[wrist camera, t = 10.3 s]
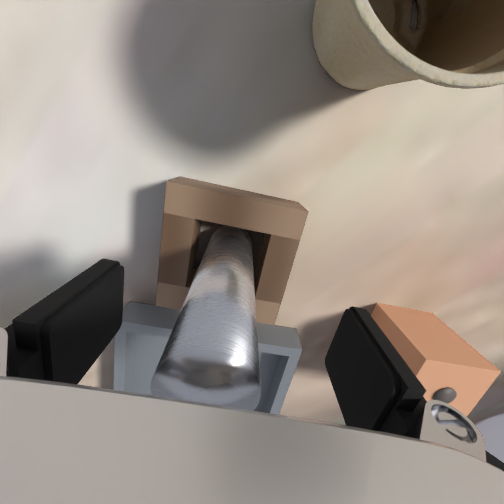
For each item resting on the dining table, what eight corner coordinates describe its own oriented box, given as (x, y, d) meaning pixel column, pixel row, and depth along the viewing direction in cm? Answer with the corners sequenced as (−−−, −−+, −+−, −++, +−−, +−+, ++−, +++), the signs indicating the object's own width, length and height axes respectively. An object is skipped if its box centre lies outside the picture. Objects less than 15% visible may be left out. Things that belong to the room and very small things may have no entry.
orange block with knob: (432, 312, 21) (502, 373, 15) (406, 358, 22) (460, 427, 17) (376, 302, 20) (427, 360, 14) (354, 350, 22) (392, 418, 16)
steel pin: (255, 229, 18) (272, 359, 6) (246, 267, 19) (248, 435, 7) (213, 220, 17) (155, 341, 6) (207, 259, 18) (147, 423, 7)
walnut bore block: (298, 202, 17) (308, 211, 14) (270, 301, 20) (274, 325, 17) (180, 176, 16) (166, 180, 13) (168, 283, 19) (155, 305, 16)
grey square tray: (296, 328, 21) (302, 349, 19) (260, 434, 26) (261, 461, 23) (130, 301, 19) (114, 320, 17) (124, 418, 24) (112, 445, 22)
